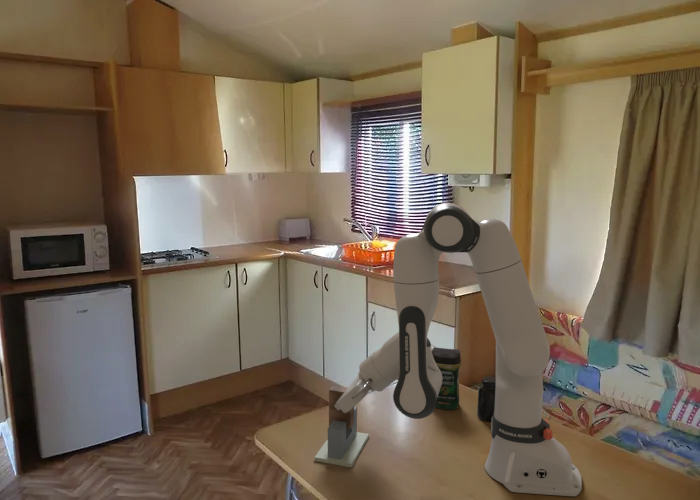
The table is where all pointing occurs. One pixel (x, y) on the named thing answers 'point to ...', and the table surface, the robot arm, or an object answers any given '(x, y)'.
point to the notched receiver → (342, 444)
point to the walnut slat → (338, 415)
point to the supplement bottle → (486, 399)
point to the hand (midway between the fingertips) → (339, 403)
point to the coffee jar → (448, 377)
